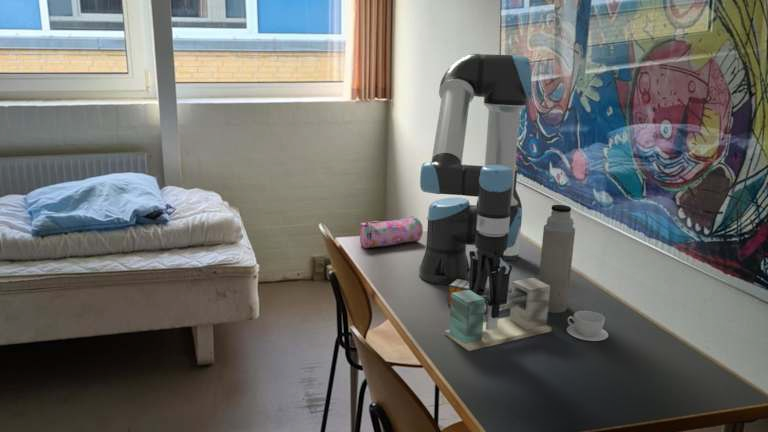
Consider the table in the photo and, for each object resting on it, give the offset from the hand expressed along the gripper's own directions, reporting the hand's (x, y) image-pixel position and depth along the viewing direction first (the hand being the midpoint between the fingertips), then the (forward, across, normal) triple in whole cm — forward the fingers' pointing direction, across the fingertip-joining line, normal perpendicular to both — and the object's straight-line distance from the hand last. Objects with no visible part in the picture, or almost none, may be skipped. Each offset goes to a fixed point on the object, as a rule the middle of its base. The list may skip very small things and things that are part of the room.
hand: (485, 324), depth 175 cm
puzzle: (+3, -19, +7) cm, 20 cm away
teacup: (+3, +10, +24) cm, 26 cm away
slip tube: (-3, 0, +2) cm, 4 cm away
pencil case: (+3, -73, +16) cm, 74 cm away
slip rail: (+3, 0, +4) cm, 5 cm away
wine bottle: (+3, -46, +44) cm, 64 cm away
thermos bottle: (+3, -7, +28) cm, 29 cm away
